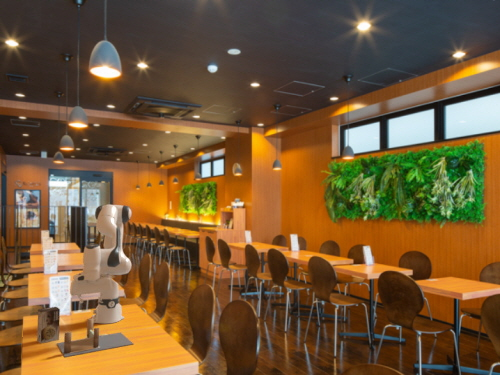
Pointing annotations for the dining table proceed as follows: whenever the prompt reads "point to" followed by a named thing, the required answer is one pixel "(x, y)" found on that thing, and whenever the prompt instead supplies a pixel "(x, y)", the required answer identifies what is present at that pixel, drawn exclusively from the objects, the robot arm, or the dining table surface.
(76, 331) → the dining table surface
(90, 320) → the gate
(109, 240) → the robot arm
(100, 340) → the board
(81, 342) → the fence fixed
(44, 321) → the coffee box
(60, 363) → the dining table surface
